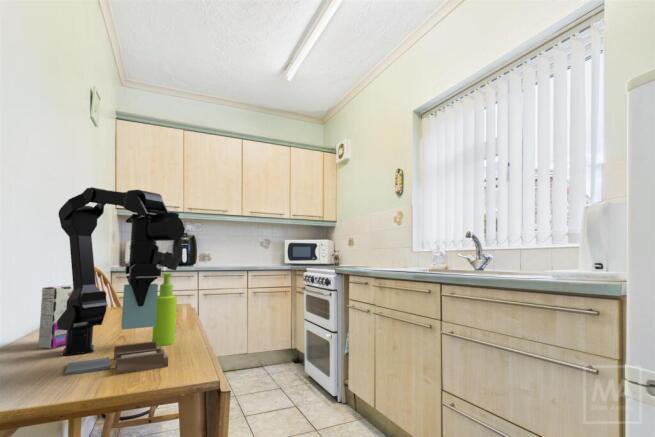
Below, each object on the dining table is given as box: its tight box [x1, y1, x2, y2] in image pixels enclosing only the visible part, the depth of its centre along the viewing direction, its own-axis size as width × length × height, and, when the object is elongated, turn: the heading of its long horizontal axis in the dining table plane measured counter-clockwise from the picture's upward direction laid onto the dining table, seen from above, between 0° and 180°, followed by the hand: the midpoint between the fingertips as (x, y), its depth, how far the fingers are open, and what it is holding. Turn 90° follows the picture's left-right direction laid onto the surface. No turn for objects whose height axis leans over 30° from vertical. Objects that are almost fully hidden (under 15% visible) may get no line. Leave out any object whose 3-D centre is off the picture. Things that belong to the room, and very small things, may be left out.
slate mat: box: [64, 356, 111, 376], centre depth 78 cm, size 8×8×1 cm
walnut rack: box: [113, 341, 169, 375], centre depth 82 cm, size 14×10×3 cm
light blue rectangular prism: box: [120, 283, 159, 331], centre depth 85 cm, size 4×7×10 cm, turn 123°
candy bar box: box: [38, 284, 73, 350], centre depth 100 cm, size 11×5×16 cm, turn 168°
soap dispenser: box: [151, 272, 178, 347], centre depth 101 cm, size 6×7×20 cm
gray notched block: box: [121, 351, 157, 358], centre depth 78 cm, size 2×8×3 cm, turn 123°
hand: (139, 305), depth 85 cm, fingers closed on light blue rectangular prism, 4 cm apart
